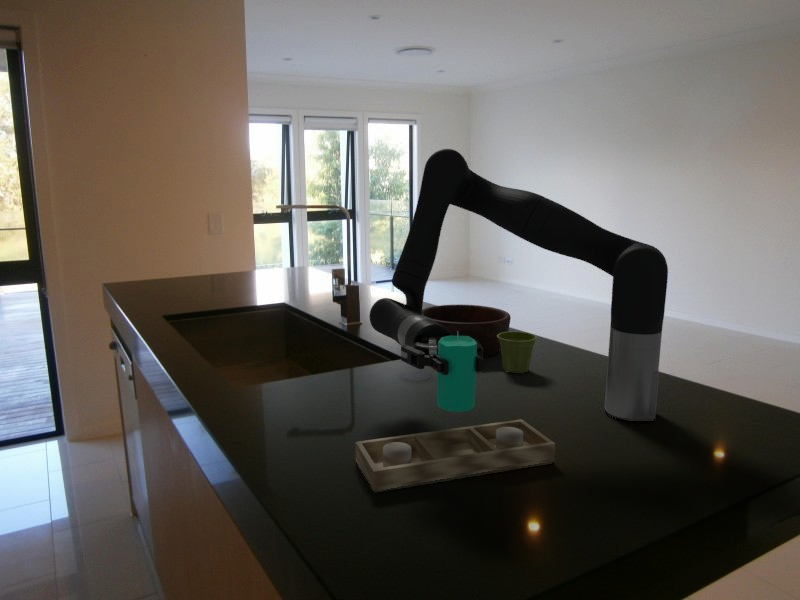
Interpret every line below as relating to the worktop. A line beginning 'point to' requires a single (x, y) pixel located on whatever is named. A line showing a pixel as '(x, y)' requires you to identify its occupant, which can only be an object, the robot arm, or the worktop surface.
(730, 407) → the worktop surface
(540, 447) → the tray
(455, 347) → the candle
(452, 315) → the wooden bowl
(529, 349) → the plant pot
